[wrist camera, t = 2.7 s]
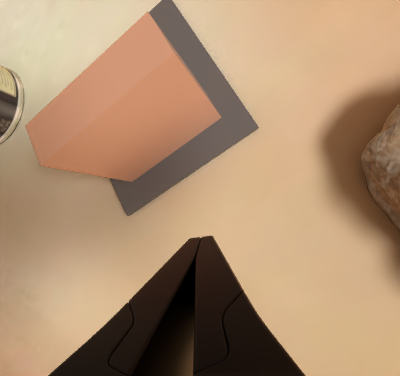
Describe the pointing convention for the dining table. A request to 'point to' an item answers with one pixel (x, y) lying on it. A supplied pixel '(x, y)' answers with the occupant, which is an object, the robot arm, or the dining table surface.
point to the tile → (124, 109)
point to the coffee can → (10, 102)
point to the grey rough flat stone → (385, 166)
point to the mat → (206, 140)
